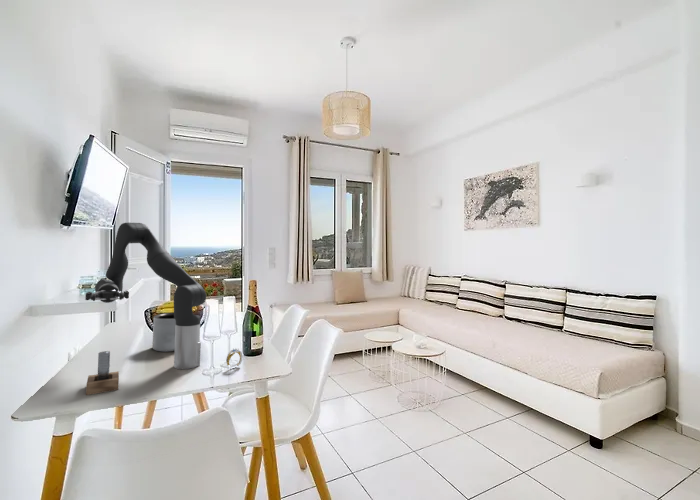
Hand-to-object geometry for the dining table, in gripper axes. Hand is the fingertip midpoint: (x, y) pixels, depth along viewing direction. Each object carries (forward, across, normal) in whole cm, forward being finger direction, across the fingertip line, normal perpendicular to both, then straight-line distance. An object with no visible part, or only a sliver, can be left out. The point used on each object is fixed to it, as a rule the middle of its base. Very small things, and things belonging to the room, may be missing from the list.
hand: (107, 297), depth 132 cm
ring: (+22, +44, +28) cm, 56 cm away
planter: (-20, +26, +28) cm, 43 cm away
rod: (+20, 0, +28) cm, 34 cm away
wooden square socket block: (+20, 0, +28) cm, 34 cm away
